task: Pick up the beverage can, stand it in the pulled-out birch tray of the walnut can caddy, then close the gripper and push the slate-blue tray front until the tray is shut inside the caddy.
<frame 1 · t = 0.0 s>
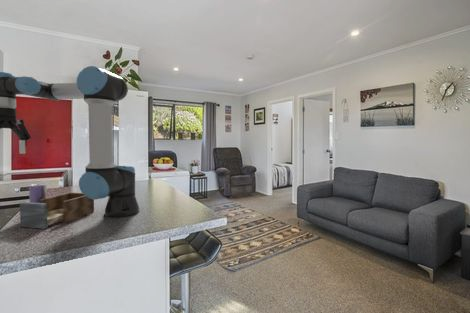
hand: (7, 154, 111), 28 cm above the counter, fingers open, 13 cm apart
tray: (50, 209, 103), point 5 cm above the counter, slide at 7.0 cm
beverage can: (39, 218, 108), on the counter
caddy: (68, 215, 111), on the counter
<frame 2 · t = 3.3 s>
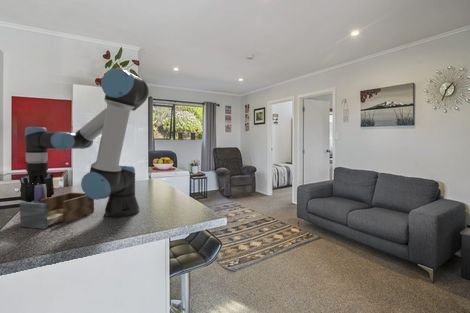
hand: (38, 213, 108), 2 cm above the counter, fingers closed on beverage can, 6 cm apart
beverage can: (39, 218, 108), on the counter, touching gripper
everything else where it was.
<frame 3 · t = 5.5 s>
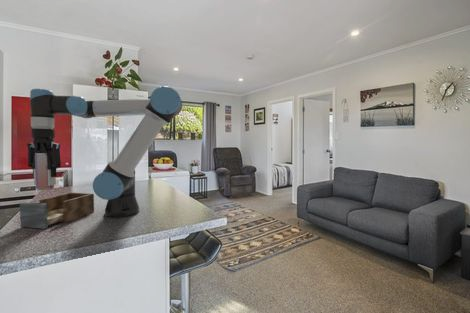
hand: (45, 184, 100), 17 cm above the counter, fingers closed on beverage can, 6 cm apart
beverage can: (45, 189, 100), point 14 cm above the counter, touching gripper
everything else where it was.
when the fingers open (5 cm above the counter, at t = 7.9 s): beverage can stays where it is, resting on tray.
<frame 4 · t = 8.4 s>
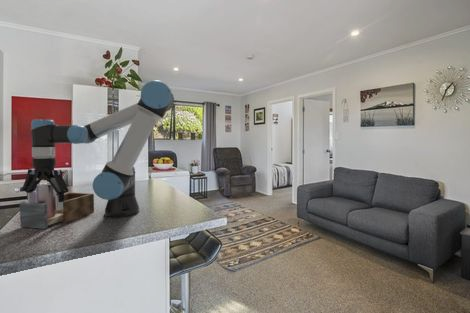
hand: (45, 208, 100), 6 cm above the counter, fingers open, 13 cm apart
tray: (50, 210, 102), point 5 cm above the counter, slide at 7.0 cm, touching beverage can
beverage can: (46, 220, 101), point 2 cm above the counter, touching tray
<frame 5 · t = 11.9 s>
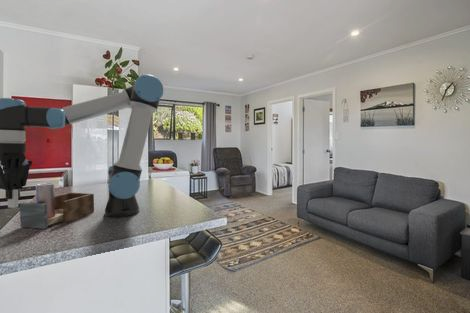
hand: (13, 207, 88), 10 cm above the counter, fingers closed
nothing on the counter moved.
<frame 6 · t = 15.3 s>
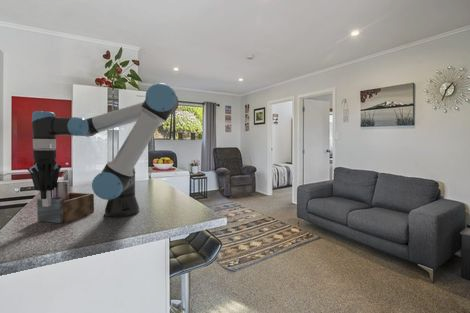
hand: (46, 206, 101), 7 cm above the counter, fingers closed
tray: (65, 205, 109), point 5 cm above the counter, slide at 0.0 cm, touching beverage can, gripper
beverage can: (61, 215, 107), point 2 cm above the counter, touching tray
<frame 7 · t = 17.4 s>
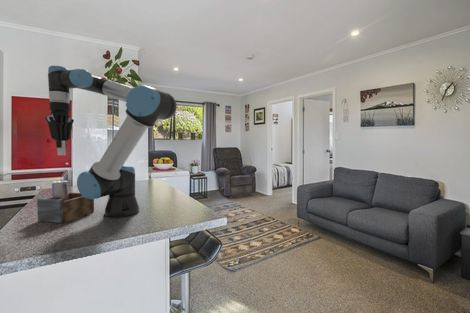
hand: (61, 155, 109), 28 cm above the counter, fingers closed
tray: (65, 205, 109), point 5 cm above the counter, slide at 0.0 cm, touching beverage can
everything else where it was.
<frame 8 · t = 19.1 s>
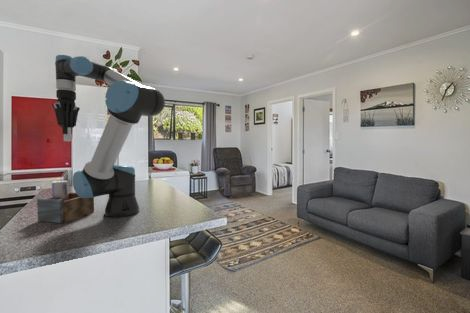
hand: (67, 141, 114), 34 cm above the counter, fingers closed
nothing on the counter moved.
at the end: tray slide at 0.0 cm; beverage can inside the target area (2.7 cm from its centre), point 1.5 cm above the counter; beverage can tilted 0° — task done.
